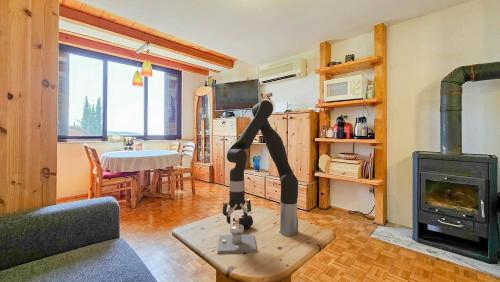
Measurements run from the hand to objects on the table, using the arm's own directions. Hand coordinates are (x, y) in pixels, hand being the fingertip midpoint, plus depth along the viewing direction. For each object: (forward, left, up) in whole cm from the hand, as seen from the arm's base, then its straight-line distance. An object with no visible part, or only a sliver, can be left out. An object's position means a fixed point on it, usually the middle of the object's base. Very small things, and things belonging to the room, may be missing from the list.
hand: (237, 221), depth 111 cm
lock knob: (0, 0, -5) cm, 5 cm away
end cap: (-4, -19, -12) cm, 23 cm away
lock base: (0, 0, -11) cm, 11 cm away
